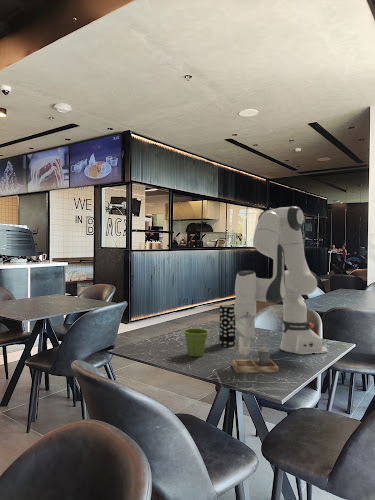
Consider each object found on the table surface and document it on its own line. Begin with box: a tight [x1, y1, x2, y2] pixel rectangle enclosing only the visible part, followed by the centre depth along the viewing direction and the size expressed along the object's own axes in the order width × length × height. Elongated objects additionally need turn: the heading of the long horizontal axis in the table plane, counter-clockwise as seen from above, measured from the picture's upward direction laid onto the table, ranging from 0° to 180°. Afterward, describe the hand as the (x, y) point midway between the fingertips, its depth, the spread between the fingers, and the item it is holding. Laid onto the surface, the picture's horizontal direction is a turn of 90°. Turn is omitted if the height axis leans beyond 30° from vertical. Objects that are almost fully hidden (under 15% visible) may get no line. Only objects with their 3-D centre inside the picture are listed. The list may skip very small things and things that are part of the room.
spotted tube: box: [218, 304, 237, 348], centre depth 195 cm, size 8×8×20 cm
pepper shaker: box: [258, 347, 271, 367], centre depth 155 cm, size 4×4×8 cm
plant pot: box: [183, 327, 209, 358], centre depth 176 cm, size 12×12×11 cm
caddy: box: [231, 359, 280, 374], centre depth 155 cm, size 17×10×3 cm, turn 94°
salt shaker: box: [238, 332, 251, 356], centre depth 154 cm, size 4×4×8 cm
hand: (244, 344), depth 154 cm, fingers closed on salt shaker, 4 cm apart
